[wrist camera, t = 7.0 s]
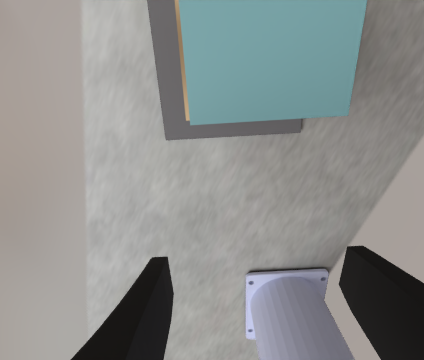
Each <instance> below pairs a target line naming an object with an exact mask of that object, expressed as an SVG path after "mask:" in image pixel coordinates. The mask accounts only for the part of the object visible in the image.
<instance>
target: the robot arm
mask: <svg viewBox="0 0 424 360" xmlns="http://www.w3.org/2000/svg"><path fill="white" fill-rule="evenodd" d="M328 276H329V273H328V271H327V270H326V269H308V270H290V271H271V272H252V273H248V274H247V275H246V338H247V339H256V345H257V350H258V356H259V360H355V359H354V357H353V355H352V353H351V351H350V349H349V347H348V345H347V343H346V342H345V340H344V338H343V336H342V334H341V332H340V330H339V329H338V327H337V324H336V322H335V320H334V319H333V317H332V315H331V313H330V311H329V309H328V307H327V305H326V303H325V301H324V298H325V292H326V287H327V282H328ZM322 277H323V278H322ZM250 281H252V282H250ZM339 286H340V288H341V290H342V293H343V295H344V297H345V299H346V301H347V303H348V305H349V307H350V310H351V311H352V313H353V315H354V316H355V318H356V320H357V321H358V323H359V325H360V326H361V328H362V329H363V331H364V333H365V334H366V336H367V338H368V339H369V341H370V343H371V344H372V346H373V347H374V349H375V350H376V352H377V354H378V356H379V357H380V359H381V360H424V283H422V282H421V281H419V280H418V279H416V278H414V277H413V276H411V275H410V274H408V273H406V272H405V271H403V270H402V269H400V268H398V267H397V266H395V265H394V264H392V263H390V262H389V261H387V260H386V259H384V258H382V257H381V256H379V255H378V254H376V253H374V252H373V251H371V250H369V249H367V248H366V247H364V246H349V247H347V250H346V255H345V260H344V264H343V268H342V273H341V277H340V282H339ZM173 295H174V293H173V287H172V281H171V275H170V269H169V263H168V257H152V258H151V259H150V261H149V262H148V264H147V265H146V267H145V268H144V270H143V271H142V273H141V274H140V275H139V277H138V278H137V280H136V281H135V283H134V284H133V285H132V287H131V288H130V289H129V291H128V292H127V293H126V295H125V296H124V297H123V299H122V300H121V301H120V303H119V304H118V305H117V307H116V308H115V309H114V310H113V312H112V313H111V314H110V315H109V317H108V318H107V319H106V320H105V321H104V323H103V324H102V325H101V326H100V328H99V329H98V330H97V331H96V332H95V333H94V335H93V336H92V337H91V338H90V339H89V340H88V341H87V342H86V344H85V345H84V346H83V347H82V348H81V349H80V350H79V351H78V352H77V353H76V354H75V356H74V357H73V358H72V359H71V360H163V359H164V354H165V349H166V344H167V339H168V334H169V329H170V324H171V317H172V306H173Z"/></svg>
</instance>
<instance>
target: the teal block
mask: <svg viewBox="0 0 424 360" xmlns="http://www.w3.org/2000/svg"><path fill="white" fill-rule="evenodd" d="M366 5H367V0H179V10H180V21H181V32H182V42H183V53H184V64H185V74H186V85H187V96H188V106H189V117H190V125H203V124H220V123H236V122H252V121H268V120H284V119H301V118H317V117H333V116H348V113H349V107H350V101H351V95H352V89H353V83H354V77H355V71H356V65H357V59H358V53H359V47H360V41H361V35H362V29H363V23H364V17H365V11H366Z"/></svg>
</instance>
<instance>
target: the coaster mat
mask: <svg viewBox="0 0 424 360" xmlns="http://www.w3.org/2000/svg"><path fill="white" fill-rule="evenodd" d="M147 3H148V10H149V18H150V25H151V33H152V40H153V48H154V55H155V63H156V70H157V78H158V85H159V93H160V100H161V108H162V115H163V123H164V130H165V138H166V140H180V139H197V138H215V137H232V136H250V135H267V134H285V133H300V132H301V122H302V118H301V119H284V120H268V121H252V122H236V123H220V124H203V125H190V121H186V115H185V105H184V94H183V84H182V73H181V62H180V52H179V41H178V31H177V20H176V9H175V0H147Z"/></svg>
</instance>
